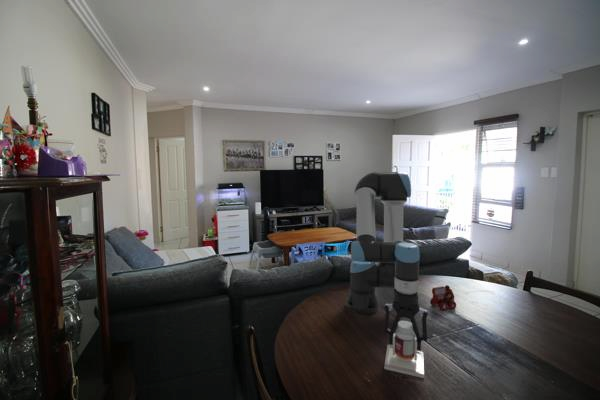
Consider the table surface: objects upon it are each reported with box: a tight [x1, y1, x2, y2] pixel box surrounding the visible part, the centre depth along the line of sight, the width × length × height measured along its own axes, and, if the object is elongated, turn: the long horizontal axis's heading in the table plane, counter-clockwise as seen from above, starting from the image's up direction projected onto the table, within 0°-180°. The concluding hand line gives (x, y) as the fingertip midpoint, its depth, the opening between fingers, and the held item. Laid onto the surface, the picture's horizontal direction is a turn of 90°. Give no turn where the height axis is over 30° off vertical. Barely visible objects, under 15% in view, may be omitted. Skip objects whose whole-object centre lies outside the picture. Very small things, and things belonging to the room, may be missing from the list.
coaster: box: [383, 344, 425, 379], centre depth 96 cm, size 12×12×1 cm
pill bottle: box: [395, 320, 416, 361], centre depth 95 cm, size 6×6×11 cm
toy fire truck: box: [429, 284, 457, 312], centre depth 134 cm, size 7×12×10 cm, turn 108°
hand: (404, 355), depth 96 cm, fingers closed on pill bottle, 6 cm apart
